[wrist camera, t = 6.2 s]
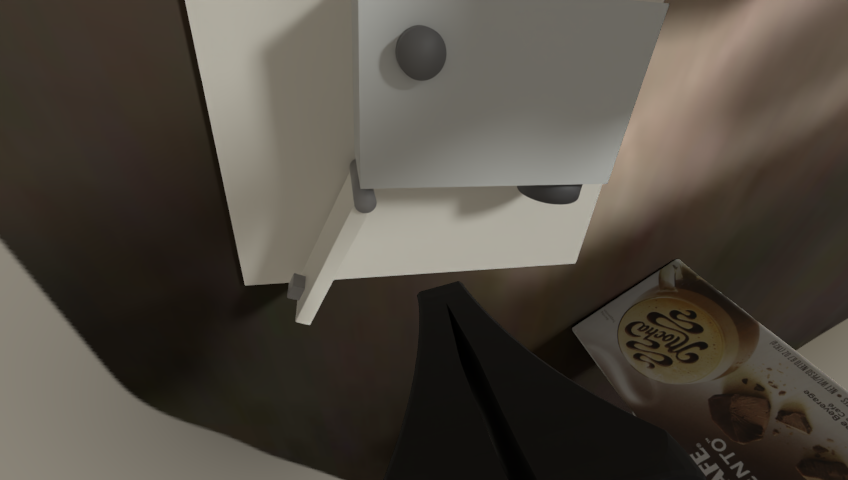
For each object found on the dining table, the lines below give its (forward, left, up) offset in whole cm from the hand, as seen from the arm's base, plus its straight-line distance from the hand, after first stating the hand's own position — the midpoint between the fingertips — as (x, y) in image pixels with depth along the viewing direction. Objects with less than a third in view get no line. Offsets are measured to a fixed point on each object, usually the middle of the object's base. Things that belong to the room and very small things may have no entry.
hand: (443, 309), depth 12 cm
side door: (+4, +2, -9) cm, 10 cm away
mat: (-2, -2, -10) cm, 10 cm away
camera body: (-3, -5, -10) cm, 11 cm away
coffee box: (-19, +11, -10) cm, 24 cm away
